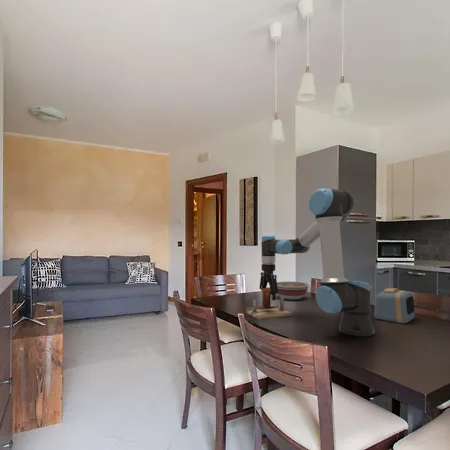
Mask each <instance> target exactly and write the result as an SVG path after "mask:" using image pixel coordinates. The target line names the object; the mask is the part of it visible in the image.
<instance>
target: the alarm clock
mask: <svg viewBox="0 0 450 450" xmlns="http://www.w3.org/2000/svg"><path fill="white" fill-rule="evenodd" d="M415 316H416V309H415V300H414V295H413V293H412V291H409V290H400V288H395V287H394V288H393V287H392V288H391V287H390V288H389V287H388V288H385V289H384V290H382V291H380V292H379V293H378V294H377V295H376V296H375V302H374V311H373V317H374V318H375V319H376V320H379V319H380V321H386V322H392V323H397V324H398V323H400V324H408V323H409V322H411V321H412V320H413V319H414V318H415Z"/></svg>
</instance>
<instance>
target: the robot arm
mask: <svg viewBox="0 0 450 450" xmlns="http://www.w3.org/2000/svg"><path fill="white" fill-rule="evenodd" d="M308 201H309V202H308V207H309V210H310V212H311V213H312V214H313V215H314V216H315V221H314V222H313V223H312V224H311V225H309V226H308V227H307V229H305V230H304V231H303V232H302V233H301V234H300V235H299V236H298V237H295V239H292V238H291V239H276V236H275V235H263V236H261V244H260V245H261V271H262V272H260V279H259V290H261V288H266V287H267V286H268V285H269V288H270V290H271V294H270V306H271V307H273V306H276V305H277V304H276V303H277V301H276V296H277V295H278V287H277V282H278V281H277V280H278V279H277V274H274V272H275V271H276V264H275V263H276V254H278V255H288V254H305V253H308V252H309V250H310V248H311V245H312V244H314V242H316V241H317V240H319V238H320V247H321V248H320V251H321V262H322V274H323V275H322V276H323V277H322V279H321V280H320V281H319V282H320V286H319V287H318V288H317V289H316V292H315V301H316V303H317V305H318V307H319V308H320V309H321V310H322V311H323V312H324V313H328V314H339V313H342V315H341V319H340V322H339V324H338V330H339V332H340V333H342V334H345V335H347V336H353V337H371V336H374V335H375V333H376V331H375V326H374V323H373V319H372V317H371V286H370V283H369V282H366V281H361V280H360V281H359V280H352V279H347V278H346V277H345V273H344V262H343V250H342V238H341V225H340V223H341V222H342V221H344V220H346V218H348V217H349V216H350V215H351V213H352V212H354V209H355V205H356V204H355V202H356V200H355V198H354V195H352V193H351V192H349V191H348V190H345V189H335V188H328V187H326V188H323V187H321V188H318V189H315V190H314V192H313V193H312V195H310V197H309V200H308Z"/></svg>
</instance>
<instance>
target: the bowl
mask: <svg viewBox="0 0 450 450" xmlns="http://www.w3.org/2000/svg"><path fill="white" fill-rule="evenodd" d="M277 287H278V294H277V295H278V297H283V298H284V300H290V301H293V300H294V301H295V300H301V299H302V298H303V297H305V295H306V294H307V292H308V289H309V284H308V283H306V282H302V281H301V282H300V281H290V280H289V281H277Z"/></svg>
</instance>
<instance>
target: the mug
mask: <svg viewBox="0 0 450 450" xmlns="http://www.w3.org/2000/svg"><path fill="white" fill-rule="evenodd" d="M260 291H261V306H263V307H264V308H266V309H273V308H274V307H275V306H273V307H271V306H270V294H271V290H270V286H269V287H266V288H261V289H260Z"/></svg>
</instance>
